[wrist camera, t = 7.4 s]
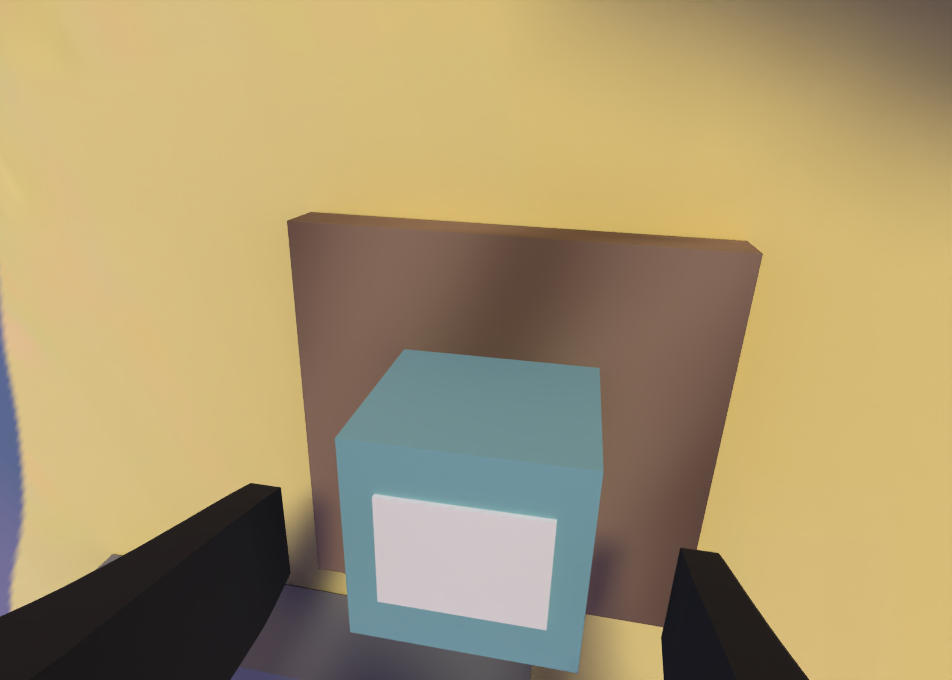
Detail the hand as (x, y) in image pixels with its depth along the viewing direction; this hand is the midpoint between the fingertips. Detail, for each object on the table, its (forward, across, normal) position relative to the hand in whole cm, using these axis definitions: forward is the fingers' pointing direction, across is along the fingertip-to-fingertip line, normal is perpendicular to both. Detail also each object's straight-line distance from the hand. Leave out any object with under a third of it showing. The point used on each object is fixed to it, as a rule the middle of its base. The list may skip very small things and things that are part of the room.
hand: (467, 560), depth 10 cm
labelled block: (+4, 0, 0) cm, 4 cm away
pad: (+5, 0, 0) cm, 5 cm away
